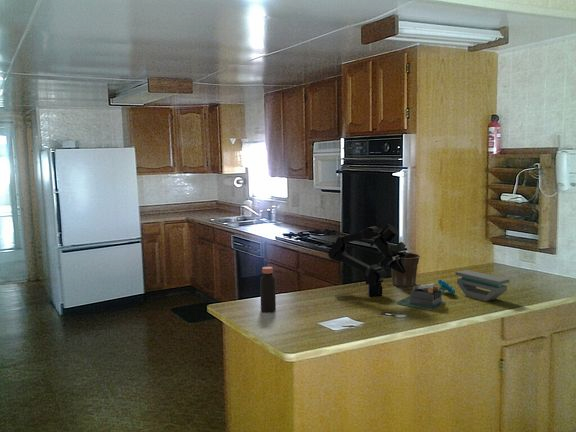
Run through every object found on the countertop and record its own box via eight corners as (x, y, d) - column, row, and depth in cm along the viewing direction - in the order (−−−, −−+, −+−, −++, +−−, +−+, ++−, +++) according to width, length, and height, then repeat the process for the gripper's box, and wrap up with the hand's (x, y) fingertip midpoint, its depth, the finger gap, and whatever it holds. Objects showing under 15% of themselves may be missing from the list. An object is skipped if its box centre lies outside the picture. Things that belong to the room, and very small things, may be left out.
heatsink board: (396, 303, 252) (396, 285, 251) (410, 297, 263) (410, 280, 262) (432, 310, 241) (432, 291, 239) (445, 303, 251) (445, 285, 250)
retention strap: (414, 289, 251) (413, 287, 251) (417, 288, 254) (416, 285, 254) (433, 287, 245) (432, 284, 245) (435, 285, 247) (435, 283, 247)
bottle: (258, 309, 246) (257, 266, 244) (272, 308, 248) (272, 265, 246) (263, 313, 240) (262, 269, 237) (277, 312, 242) (277, 268, 240)
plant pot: (425, 283, 289) (425, 254, 287) (410, 289, 277) (410, 259, 275) (398, 279, 300) (398, 251, 298) (383, 285, 288) (383, 255, 286)
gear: (459, 292, 264) (445, 279, 262) (452, 301, 263) (438, 288, 261) (448, 290, 274) (435, 277, 273) (441, 299, 274) (427, 286, 272)
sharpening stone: (508, 301, 253) (509, 279, 251) (498, 304, 248) (498, 281, 247) (465, 290, 274) (466, 269, 272) (455, 293, 269) (455, 271, 268)
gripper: (385, 239, 250) (406, 265, 244) (404, 234, 264) (424, 259, 258) (370, 254, 256) (390, 280, 250) (389, 248, 270) (409, 273, 264)
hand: (404, 272), depth 255 cm, fingers closed
